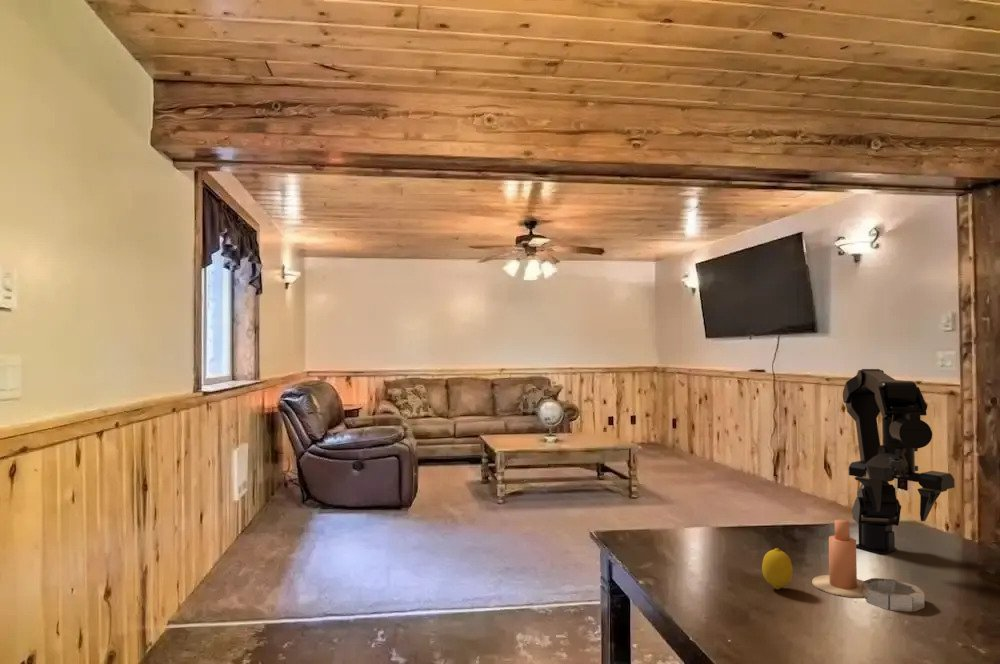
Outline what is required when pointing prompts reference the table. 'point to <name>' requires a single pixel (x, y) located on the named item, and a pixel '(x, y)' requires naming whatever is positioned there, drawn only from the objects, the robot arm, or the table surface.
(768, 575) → the lemon
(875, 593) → the ring
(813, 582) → the coaster
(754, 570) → the table surface
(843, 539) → the pin
